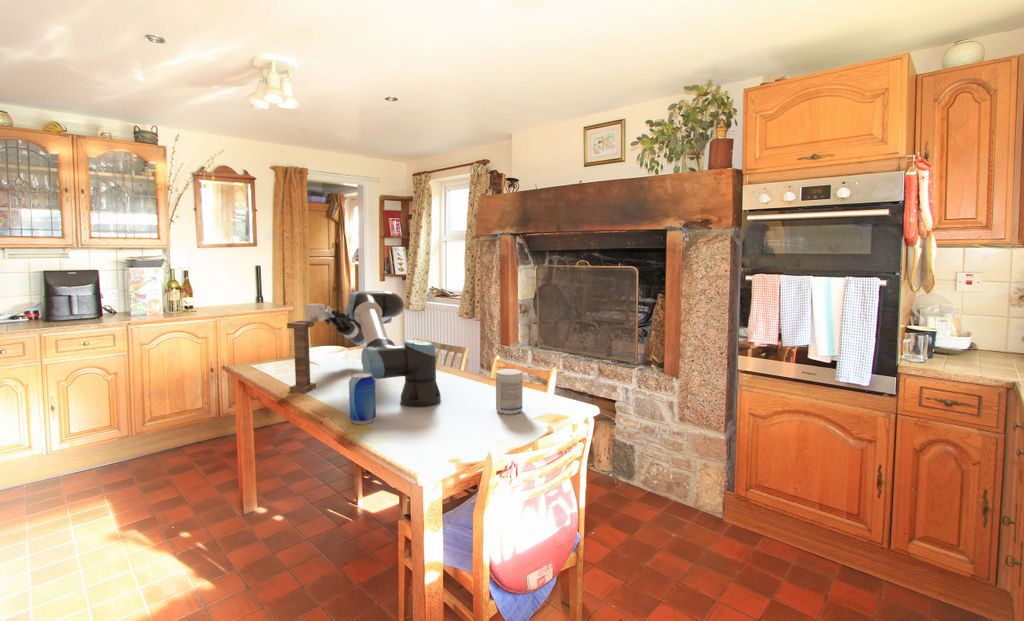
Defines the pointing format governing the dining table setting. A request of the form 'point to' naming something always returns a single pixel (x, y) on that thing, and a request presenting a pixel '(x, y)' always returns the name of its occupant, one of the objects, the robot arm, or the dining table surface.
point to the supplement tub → (509, 391)
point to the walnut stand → (302, 356)
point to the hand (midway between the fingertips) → (323, 308)
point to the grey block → (316, 312)
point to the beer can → (362, 398)
